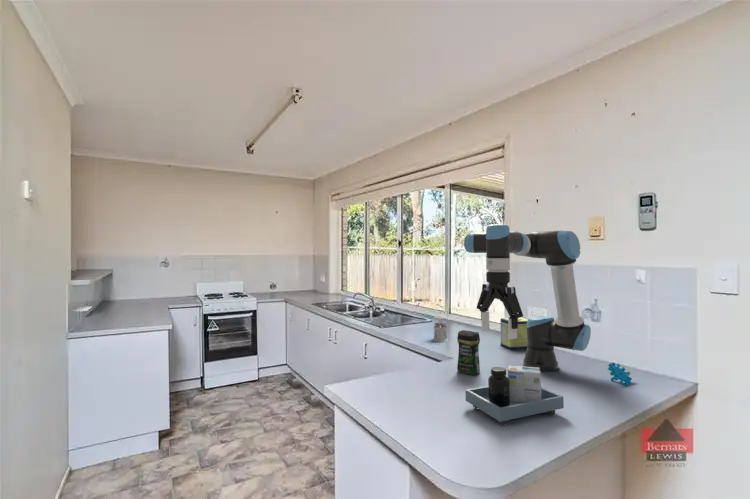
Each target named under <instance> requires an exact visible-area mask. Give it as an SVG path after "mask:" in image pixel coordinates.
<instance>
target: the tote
mask: <svg viewBox="0 0 750 499" xmlns="http://www.w3.org/2000/svg"><path fill="white" fill-rule="evenodd" d="M465 402H467V403H468V404H471V405H472V407H473V408H474V407H475V408H474V409H476V408H479V411H482V412H484V413H485V414H487V415H489V416H491V418H494V419H495V420H497V423H498V424H500V425H501V426H506V425H507V424H508V421H511V420H514V419H519V418H523V417H528V416H529V417H530V416H533V415H537V414H543V413H547V414H549V415H551V416H553V415H555V413H556V411H557V410H562V409H564V396H563V395H560V394H558V393H556V392H553V391H551V390H549V389H546V388H545V387H542V386H541V400H536V401H531V402H526V403H523V402H515V401H510V405H509V406H506V407H501V408H500V407H499V406H497V405H495V404H493V403H492V402H490V401H489V390H488V385H485V386H479V387H473V388H468V389H465ZM505 424H506V425H505Z"/></svg>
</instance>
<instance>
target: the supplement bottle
mask: <svg viewBox="0 0 750 499" xmlns="http://www.w3.org/2000/svg"><path fill="white" fill-rule="evenodd" d="M490 374H491V375H490V376H488V378H487V380H488V381H487V383H488V384H487V386H488V390H489V401H490V402H492V403H493V404H495V405H497V406H499V407H500V408H501V407H506V406H509V405H510V383H509V379H508V376H507V369H506V368H505V367H502V366H494V367H491V368H490Z"/></svg>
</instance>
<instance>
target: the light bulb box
mask: <svg viewBox="0 0 750 499" xmlns="http://www.w3.org/2000/svg"><path fill="white" fill-rule="evenodd" d="M541 374H542V372H541V371H540V368H537V367H525V366H524V365H523V366H521V365H520V366H519V365H510V364H508V366H507V377H508V379H509V383H510V401H515V402H523V403H526V402H531V401H536V400H541V387H542V377H541V376H542V375H541Z"/></svg>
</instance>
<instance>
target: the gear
mask: <svg viewBox="0 0 750 499" xmlns="http://www.w3.org/2000/svg"><path fill="white" fill-rule="evenodd" d="M607 366H608V368H607V370H608V371H610V372H609V374H610V376H613V377H611V378H610V381H614V380H615V381H618V380H619V381H618V383H619V384H620V385H624V386H626V387H628V386H629V385H631V384H632V379H633V378H632V377H630V375H631V374H632V373H631V371H626V368H625V367H623V366H622V367H621V364H619V363H617V364H616V363H615V362H614V361H613V362H611V363H609V364H608V365H607Z"/></svg>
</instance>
